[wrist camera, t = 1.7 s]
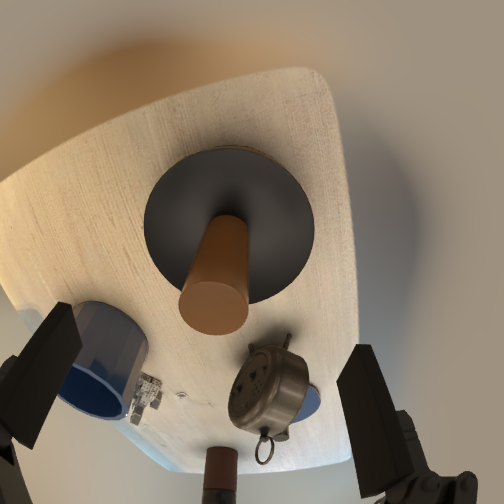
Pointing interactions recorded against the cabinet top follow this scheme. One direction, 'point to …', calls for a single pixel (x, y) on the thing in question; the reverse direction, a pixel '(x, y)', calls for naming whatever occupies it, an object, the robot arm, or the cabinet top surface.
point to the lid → (227, 234)
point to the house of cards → (147, 397)
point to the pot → (105, 362)
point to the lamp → (220, 476)
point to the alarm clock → (268, 392)
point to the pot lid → (302, 412)
